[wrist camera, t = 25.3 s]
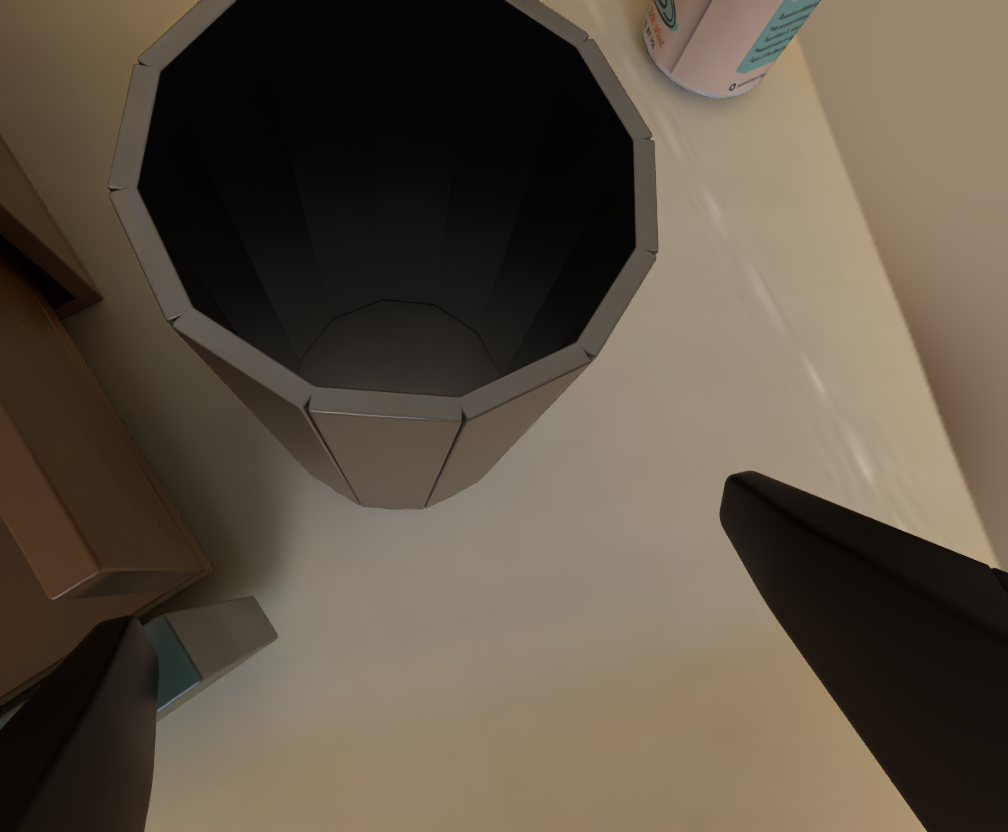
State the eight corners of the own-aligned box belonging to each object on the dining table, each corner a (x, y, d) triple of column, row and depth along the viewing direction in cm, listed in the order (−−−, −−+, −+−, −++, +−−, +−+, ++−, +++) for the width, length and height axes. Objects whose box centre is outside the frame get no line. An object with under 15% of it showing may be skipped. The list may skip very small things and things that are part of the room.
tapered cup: (432, 554, 16) (489, 532, 6) (238, 428, 16) (-23, 201, 6) (547, 373, 18) (735, 128, 8) (372, 259, 18) (341, -131, 8)
